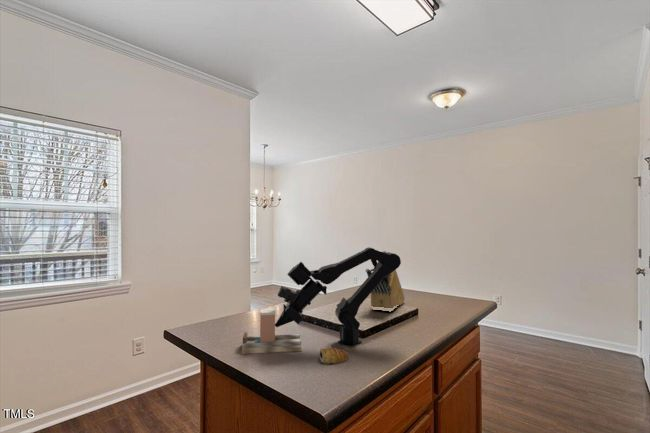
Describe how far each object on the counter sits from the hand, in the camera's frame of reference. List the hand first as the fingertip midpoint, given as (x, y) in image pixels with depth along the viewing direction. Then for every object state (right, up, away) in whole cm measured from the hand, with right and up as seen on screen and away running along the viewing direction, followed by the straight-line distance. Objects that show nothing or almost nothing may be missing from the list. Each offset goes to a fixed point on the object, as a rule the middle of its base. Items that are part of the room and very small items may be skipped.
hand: (275, 326), depth 114 cm
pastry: (+20, -8, -11) cm, 24 cm away
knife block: (+49, -9, +53) cm, 73 cm away
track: (-1, -7, 0) cm, 7 cm away
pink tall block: (-3, -5, -1) cm, 6 cm away
